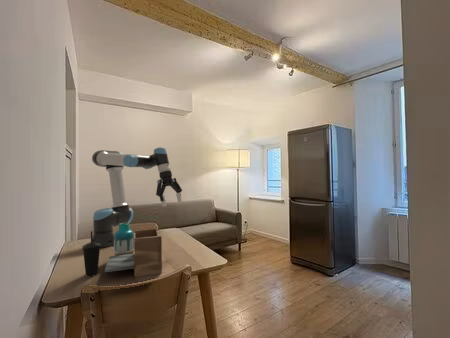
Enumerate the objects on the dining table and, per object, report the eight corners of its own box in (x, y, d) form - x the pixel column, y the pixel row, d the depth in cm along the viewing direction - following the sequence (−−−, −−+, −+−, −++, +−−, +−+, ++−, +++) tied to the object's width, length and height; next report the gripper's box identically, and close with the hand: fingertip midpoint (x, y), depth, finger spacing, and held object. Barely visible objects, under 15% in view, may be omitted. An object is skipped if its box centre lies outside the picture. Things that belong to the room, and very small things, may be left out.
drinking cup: (87, 271, 117) (87, 229, 117) (103, 270, 118) (103, 229, 118) (78, 278, 109) (78, 233, 110) (96, 277, 110) (96, 233, 110)
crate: (109, 266, 123) (109, 232, 124) (159, 260, 131) (158, 228, 131) (104, 281, 106) (104, 241, 107) (161, 272, 114) (161, 236, 114)
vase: (114, 263, 128) (114, 226, 128) (113, 257, 137) (113, 223, 137) (135, 259, 132) (135, 224, 133) (133, 254, 142) (133, 221, 142)
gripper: (153, 170, 141) (161, 206, 138) (182, 169, 162) (190, 200, 159) (145, 174, 145) (153, 209, 142) (174, 172, 166) (182, 202, 163)
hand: (172, 204), depth 151 cm, fingers open, 13 cm apart
